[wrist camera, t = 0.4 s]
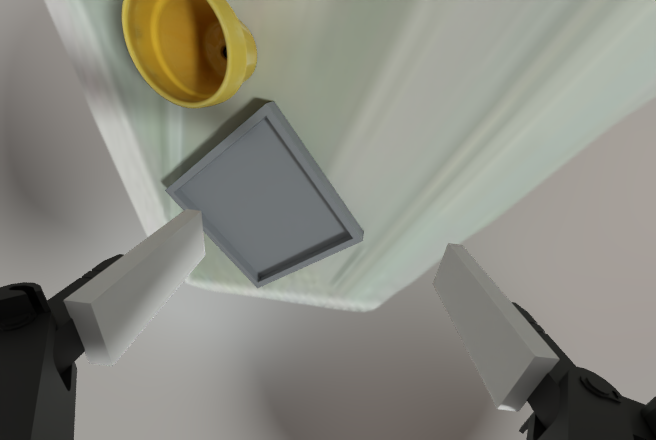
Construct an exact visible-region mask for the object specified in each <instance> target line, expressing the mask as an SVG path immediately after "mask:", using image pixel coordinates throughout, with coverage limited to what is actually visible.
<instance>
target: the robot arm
mask: <svg viewBox="0 0 656 440" xmlns="http://www.w3.org/2000/svg"><path fill="white" fill-rule="evenodd" d="M204 256H205V246H204V235H203V224H202V213H201V211H198V210H190V209H186V210H184V211H183V212H182V213H180V214H179V215H178V216H176V217H175V218H174V219H172V220H171V221H170V222H168V223H167V224H165V225H164V226H163V227H161V228H160V229H159V230H157V231H156V232H155V233H153V234H152V235H151V236H149V237H148V238H147V239H145V240H144V241H143V242H141V243H140V244H139V245H137V246H136V247H134V248H133V249H132V250H131V251H129V252H128V253H126V254H125V255H122V254H119V255H116V256H114V257H112V258H109V259H107V260H105V261H103V262H102V263H100V264H99V265H97V266H96V267H95V268H93V269H92V271H89V272H88V273H86V274H84V275H83V276H82V278H79V279H77V280H76V281H75V282H73V283H72V284H70V285H69V286H67V287H66V288H65V289H63V290H62V291H60V292H59V293H57V294H56V295H55V296H53V297H52V298H50V299H49V300H46V297H45V295H44V293H43V291H42V289H41V286H40V285H38V284H35V283H17V284H11V285H7V286H3V287H0V440H74V419H75V399H76V378H77V367H76V364H75V362H74V361H75V360H76V359H77V358H78V357H79V356H80V355H81V354H82V353H83V352H84V351H85V354H86V356H87V359H88V361H89V363H91V364H99V365H108V366H113V365H114V364H115V363H116V362H117V361H118V359H119V358H120V357H121V356H122V355H123V353H124V352H125V351H126V350H127V349H128V347H129V346H130V345H131V344H132V342H133V341H134V340H135V339H136V338H137V337H138V335H139V334H140V333H141V332H142V330H143V329H144V328H145V327H146V326H147V325H148V323H149V322H150V321H151V320H152V319H153V317H154V316H155V315H156V314H157V313H158V311H159V310H160V309H161V308H162V307H163V305H164V304H165V303H166V301H167V300H168V299H169V298H170V297H171V296H172V295H173V293H174V292H175V291H176V290H177V289H178V287H179V286H180V285H181V284H182V283H183V281H184V280H185V279H186V278H187V277H188V275H189V274H190V273H191V272H192V271H193V269H194V268H195V267H196V266H197V265H198V263H199V262H200V261H201V260H202V259H203V257H204ZM433 285H434V288H435V289H436V291H437V293H438V295H439V297H440V299H441V301H442V303H443V305H444V307H445V309H446V311H447V312H448V314H449V317H450V318H451V320H452V322H453V324H454V326H455V328H456V330H457V332H458V334H459V336H460V338H461V340H462V342H463V344H464V345H465V348H466V349H467V351H468V353H469V355H470V357H471V359H472V361H473V363H474V365H475V367H476V369H477V371H478V373H479V375H480V376H481V378H482V380H483V382H484V384H485V386H486V388H487V390H488V392H489V394H490V396H491V398H492V400H493V401H494V404H495V405H496V407H497V409H502V410H511V411H519V410H520V409H521V408H522V406H523V405H524V404H525V403H526V401H528V403H529V404H530V406H531V407H532V409H533V411H534V412H533V413H532V415H531V416H530V417H529V418H528V419H527V421H526V422H525V423H524V424H523V425H522V427H521V428H520V430H519V431H520V432H521V433H524V432H525V431H526V429H528V433H527V440H656V397H654V398H653V399H652V400H651V401H650V402H649V403H647V404H646V405H644V404H642V403H639V402H637V401H634V400H631V399H629V398H626V397H623V396H622V395H621V394H620V393H619V392H618V391H617V390H616V389H615V388H614V387H613V386H612V385H611V384H610V383H608V382H607V381H606V380H605V379H603V378H602V377H600V376H598V375H597V374H595V373H593V372H591V371H589V370H587V369H584V368H580V367H576V366H575V365H574V364H573V362H572V361H571V360H570V359H569V358H568V357H567V356H566V355H565V353H564V352H563V351H562V350H561V349H560V348H559V347H558V346H557V344H556V343H555V342H554V341H553V340H552V339H551V338H550V337H549V335H548V334H545V331H544V330H543V329H542V328H541V327H540V326H539V325H537V322H536V321H535V320H534V319H533V318H532V316H531V315H530V314H529V313H528V312H527V311H525V310H524V309H523V308H521V307H520V306H519V305H517V304H516V303H513V302H511V301H510V300H509V299H508V298H507V297H506V296H505V295H504V293H503V292H502V291H501V290H500V289H499V287H498V286H497V285H496V284H495V283H494V282H493V280H492V279H491V278H490V277H489V276H488V275H487V273H486V272H485V271H484V270H483V269H482V268H481V266H480V265H479V264H478V263H477V262H476V260H475V259H474V258H473V257H472V256H471V255H470V254H469V252H468V251H467V250H466V249H465V248H464V247H463V245H458V244H450V243H448V245H447V248H446V250H445V253H444V256H443V258H442V261H441V263H440V266H439V269H438V271H437V274H436V276H435V279H434V281H433Z"/></svg>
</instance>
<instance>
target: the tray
mask: <svg viewBox="0 0 656 440" xmlns="http://www.w3.org/2000/svg"><path fill="white" fill-rule="evenodd" d="M165 191H166V192H167V193H168V194H169V195H170V196H171V197H172V199H173V200H174V201H175V202H176V203H177V204H178V205H179V206H180V207H181V208H182V209H183V210H186V209H190V210H198V211H201V213H202V224H203V231H204V232H205V233H206V234H207V235H208V237H209V238H210V239H211V240H212V241H213V242H214V243H215V244H216V245H217V246H218V247H219V248H220V249H221V250H222V251H223V252H224V253H225V254H226V256H227V257H228V258H229V259H230V260H231V261H232V262H233V263H234V264H235V265H236V266H237V267H238V268H239V269H240V270H241V271H242V272H243V273H244V275H245V276H246V277H247V278H248V279H249V280H250V281H251V282H252V283H253V284H254V285H255V286H256V287H257V288H259V287H261V286H264V285H266V284H268V283H270V282H272V281H275V280H277V279H279V278H281V277H283V276H286V275H288V274H290V273H292V272H295V271H297V270H299V269H301V268H303V267H306V266H308V265H310V264H312V263H315V262H317V261H319V260H321V259H323V258H326V257H328V256H330V255H332V254H334V253H337V252H339V251H341V250H343V249H346V248H348V247H350V246H352V245H354V244H357V243H359V242H361V241H363V234H364V231H363V230H362V228H361V227H360V226H359V224H358V223H357V221H356V220H355V218H354V217H353V215H352V214H351V212H350V211H349V210H348V208H347V207H346V205H345V204H344V202H343V201H342V199H341V198H340V196H339V195H338V194H337V192H336V191H335V189H334V188H333V186H332V185H331V183H330V182H329V180H328V179H327V177H326V176H325V175H324V173H323V172H322V170H321V169H320V167H319V166H318V164H317V163H316V161H315V160H314V159H313V157H312V156H311V154H310V153H309V151H308V150H307V148H306V147H305V145H304V144H303V143H302V141H301V140H300V138H299V137H298V135H297V134H296V132H295V131H294V129H293V128H292V127H291V125H290V124H289V122H288V121H287V119H286V118H285V116H284V115H283V113H282V112H281V111H280V109H279V108H278V106H277V105H276V103H275V102H274V101H273V102H269V103H266V104H265V105H264V106H263V107H261V108H260V109H259V110H258V111H257V112H256V113H254V114H253V115H252V116H251V117H250V118H249V119H247V120H246V121H245V122H244V123H243V124H242V125H240V126H239V127H238V128H237V129H236V130H235V131H233V132H232V133H231V134H230V135H229V136H228V137H226V138H225V139H224V140H223V141H222V142H221V143H219V144H218V145H217V146H216V147H215V148H214V149H213V150H211V151H210V152H209V153H208V154H207V155H206V156H204V157H203V158H202V159H201V160H200V161H199V162H197V163H196V164H195V165H194V166H193V167H192V168H190V169H189V170H188V171H187V172H186V173H185V174H183V175H182V176H181V177H180V178H179V179H178V180H176V181H175V182H174V183H173V184H172V185H171V186H169V187H168V188H167V189H166V190H165Z"/></svg>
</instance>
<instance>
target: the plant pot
mask: <svg viewBox="0 0 656 440" xmlns="http://www.w3.org/2000/svg"><path fill="white" fill-rule="evenodd" d="M122 28H123V34H124V38H125V42H126V45H127V48H128V51H129V54H130V56H131V58H132V60H133V62H134V64H135V66H136V68H137V69H138V71H139V73H140V74H141V75H142V77H143V78H144V80H145V81H146V82H147V83H148V84H149V85H150V86H151V88H152V89H154V90H155V91H156V92H157V93H158V94H159V95H161V96H162V97H163V98H165V99H166V100H168V101H170V102H172V103H174V104H176V105H179V106H182V107H186V108H203V107H208V106H212V105H216V104H219V103H222V102H224V101H226V100H228V99H229V98H231V97H232V96H233V95H234V94H235V93H236V92H237V91H238V89H239V88H240V86H241V84H242V83H243V82H244V81H246V80H247V79H248V78H249V77H250V76H251V75H252V73H253V72H254V70H255V67H256V63H257V49H256V45H255V41H254V39H253V37H252V34H251V33H250V31H249V30H248V28H247V27H246V26H245V25H244V24H243V23H242V22H241V21H240V20H239V19H238V18H237V17H236V15H235V13H234V11H233V10H232V8H231V7H230V5H229V4H228V3H227V1H226V0H123V4H122ZM225 47H226V48H227V58H226V57H225V56H224V53H223V52H224V48H225Z"/></svg>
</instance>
